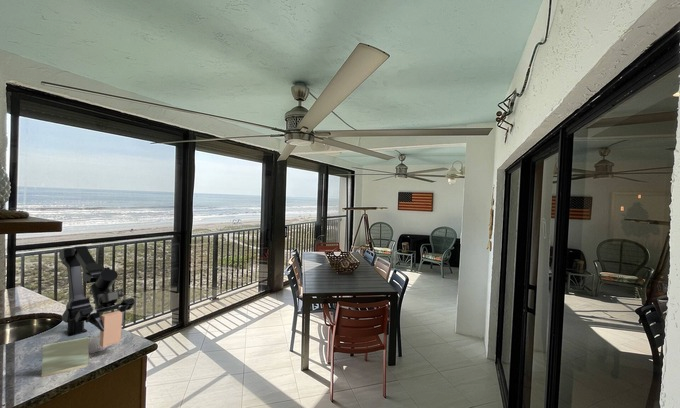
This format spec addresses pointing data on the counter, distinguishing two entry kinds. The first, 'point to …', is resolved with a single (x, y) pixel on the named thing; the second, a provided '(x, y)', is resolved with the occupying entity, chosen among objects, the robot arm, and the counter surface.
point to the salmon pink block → (111, 328)
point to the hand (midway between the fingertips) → (112, 328)
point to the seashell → (94, 345)
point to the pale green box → (65, 356)
